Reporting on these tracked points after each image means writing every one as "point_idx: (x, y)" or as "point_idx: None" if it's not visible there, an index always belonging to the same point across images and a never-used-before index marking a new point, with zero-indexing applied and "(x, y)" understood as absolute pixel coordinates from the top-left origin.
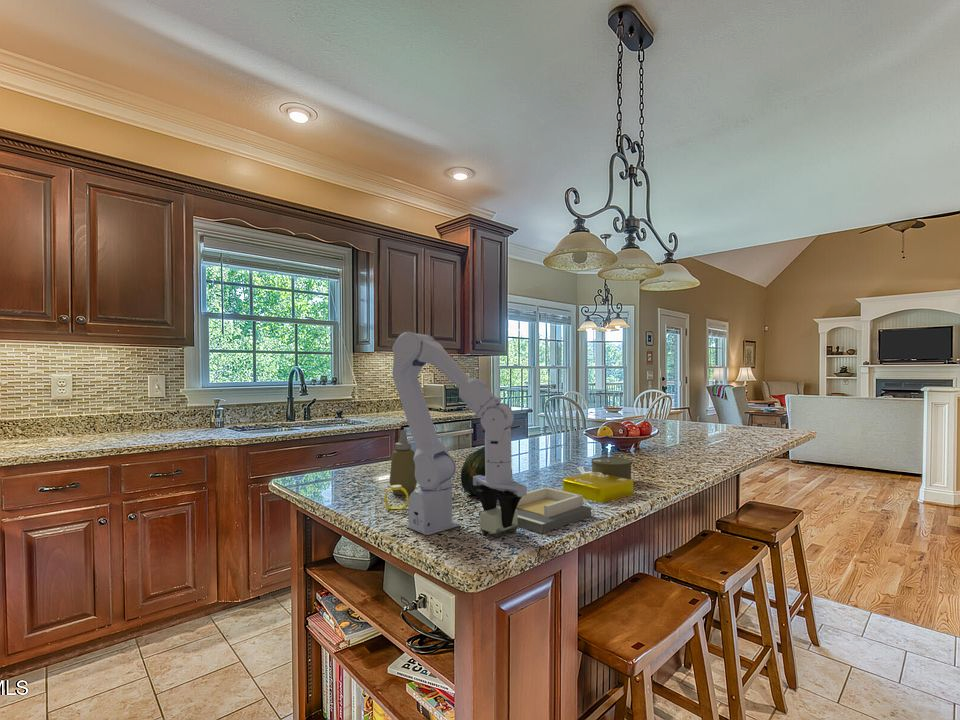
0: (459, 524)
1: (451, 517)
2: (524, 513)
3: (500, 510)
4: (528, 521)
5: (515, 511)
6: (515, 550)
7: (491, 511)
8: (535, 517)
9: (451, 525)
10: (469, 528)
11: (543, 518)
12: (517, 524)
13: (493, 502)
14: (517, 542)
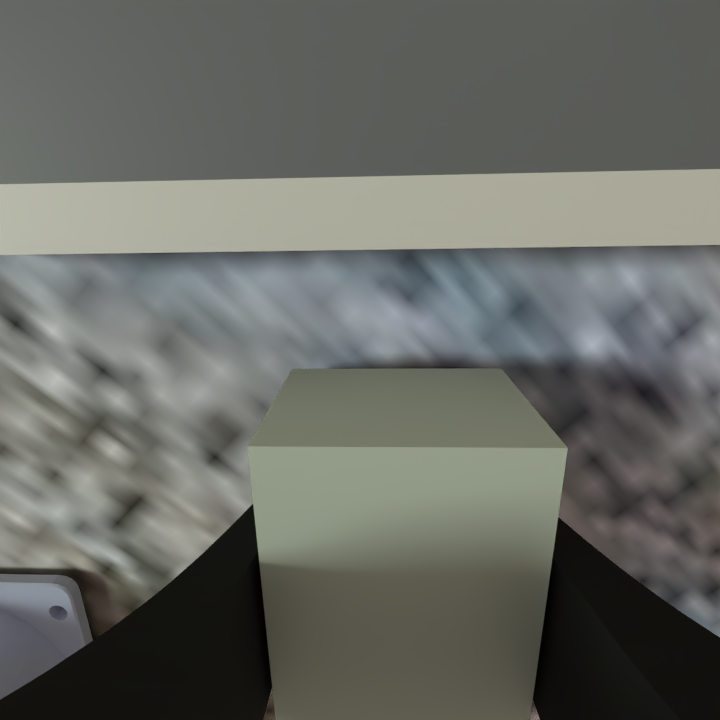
0: (74, 599)
1: (6, 695)
2: (338, 37)
3: (391, 607)
4: (573, 246)
5: (558, 482)
6: (716, 627)
7: (343, 695)
8: (579, 66)
9: (67, 649)
10: (158, 557)
11: (703, 8)
12: (506, 377)
13: (225, 682)
14: (642, 524)
